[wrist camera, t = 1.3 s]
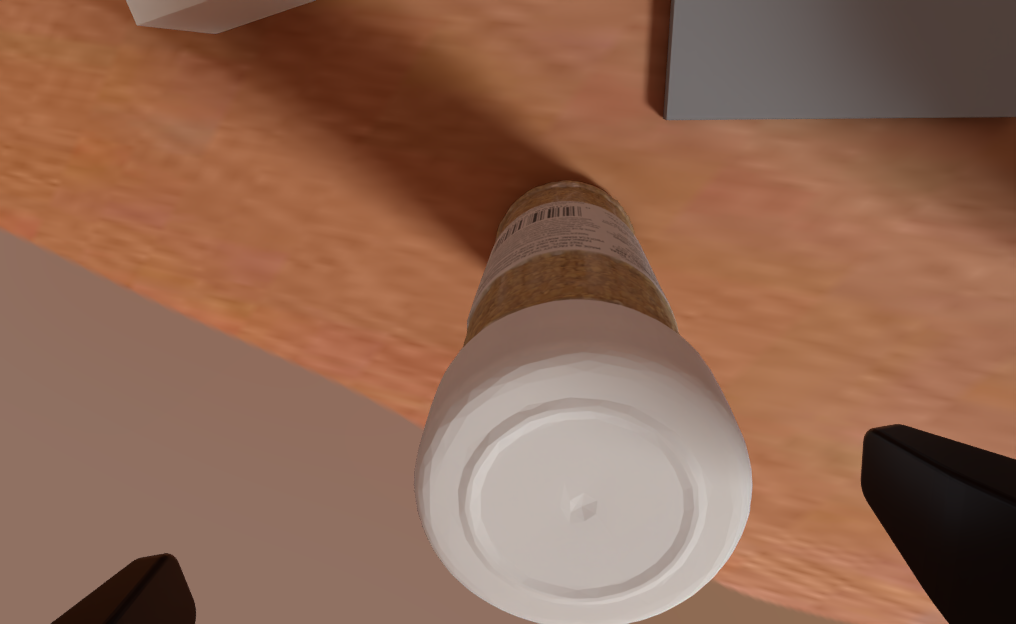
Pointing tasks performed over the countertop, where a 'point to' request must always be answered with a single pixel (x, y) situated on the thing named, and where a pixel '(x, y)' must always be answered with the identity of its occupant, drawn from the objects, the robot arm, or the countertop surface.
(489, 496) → the sprinkles bottle
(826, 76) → the grey mat
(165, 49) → the countertop surface
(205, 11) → the light grey block
